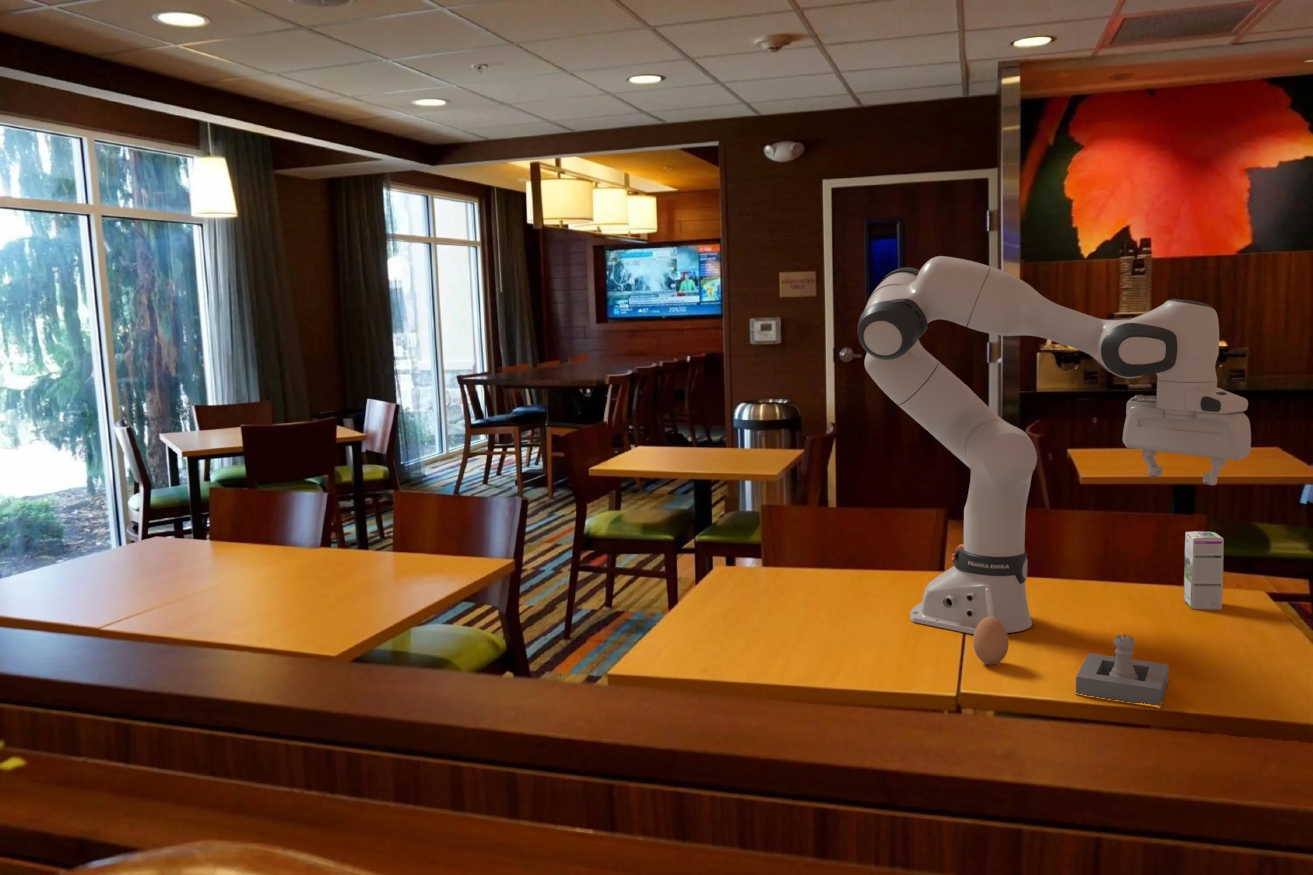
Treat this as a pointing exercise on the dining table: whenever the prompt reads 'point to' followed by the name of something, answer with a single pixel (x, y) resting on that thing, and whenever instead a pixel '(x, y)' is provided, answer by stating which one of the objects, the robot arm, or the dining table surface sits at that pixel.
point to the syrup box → (1203, 570)
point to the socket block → (1122, 680)
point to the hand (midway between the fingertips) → (1181, 480)
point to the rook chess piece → (1124, 658)
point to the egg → (990, 641)
